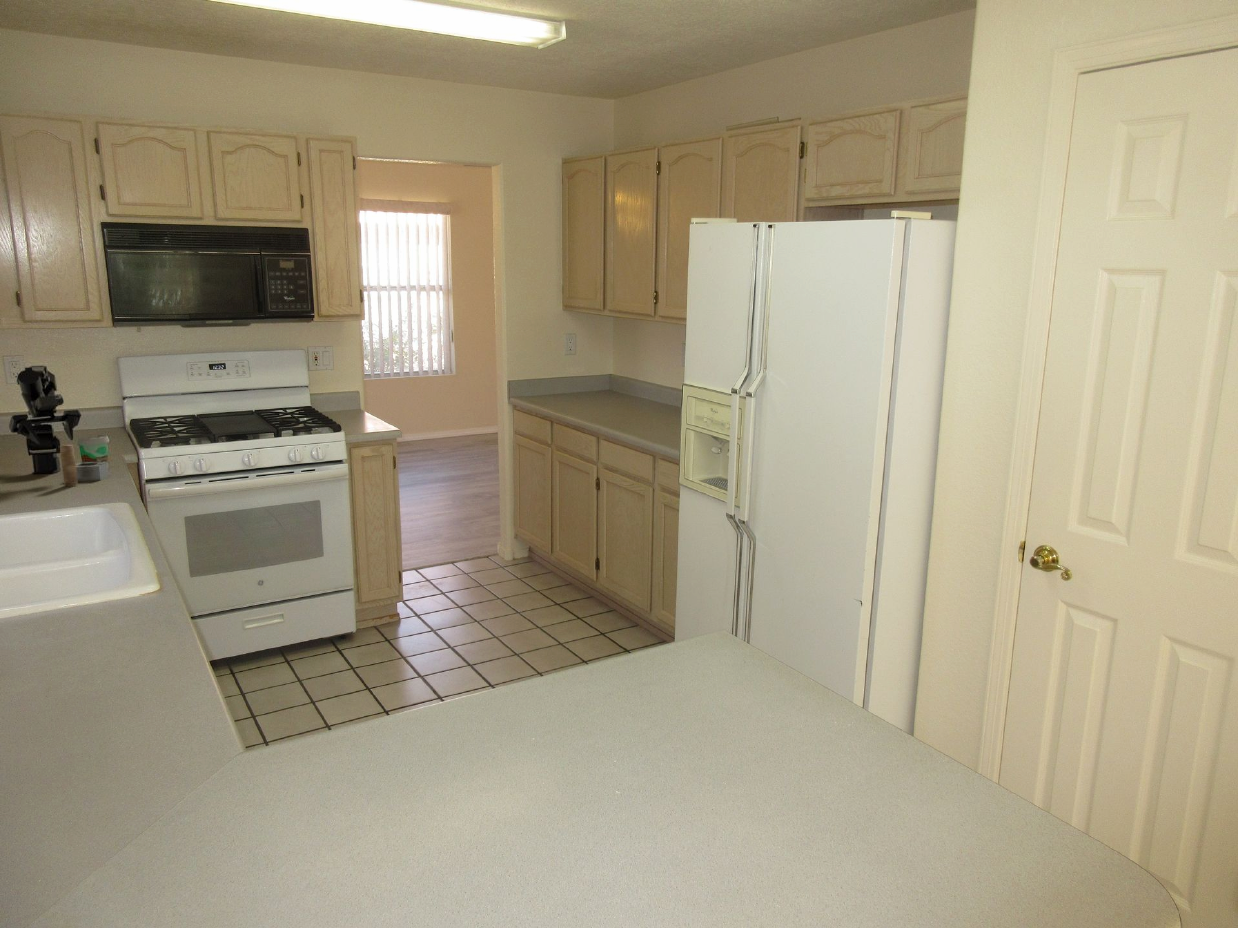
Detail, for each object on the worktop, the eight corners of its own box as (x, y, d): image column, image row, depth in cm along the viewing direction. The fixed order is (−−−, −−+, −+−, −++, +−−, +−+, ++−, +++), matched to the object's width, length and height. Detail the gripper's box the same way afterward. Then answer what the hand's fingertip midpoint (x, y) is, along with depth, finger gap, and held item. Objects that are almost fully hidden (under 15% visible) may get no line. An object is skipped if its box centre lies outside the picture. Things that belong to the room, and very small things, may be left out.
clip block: (68, 481, 274) (67, 467, 273) (79, 476, 283) (77, 462, 282) (100, 480, 276) (98, 466, 275) (109, 474, 285) (108, 461, 284)
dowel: (62, 487, 266) (57, 446, 264) (66, 484, 270) (62, 444, 267) (75, 486, 267) (70, 446, 265) (79, 484, 270) (75, 444, 268)
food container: (98, 468, 296) (95, 439, 294) (80, 468, 296) (77, 439, 294) (119, 462, 308) (116, 434, 306) (102, 462, 308) (99, 434, 306)
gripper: (7, 388, 263) (26, 427, 258) (75, 384, 278) (94, 421, 273) (1, 412, 269) (19, 451, 265) (67, 407, 284) (86, 443, 279)
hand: (55, 441), depth 270 cm, fingers open, 9 cm apart
